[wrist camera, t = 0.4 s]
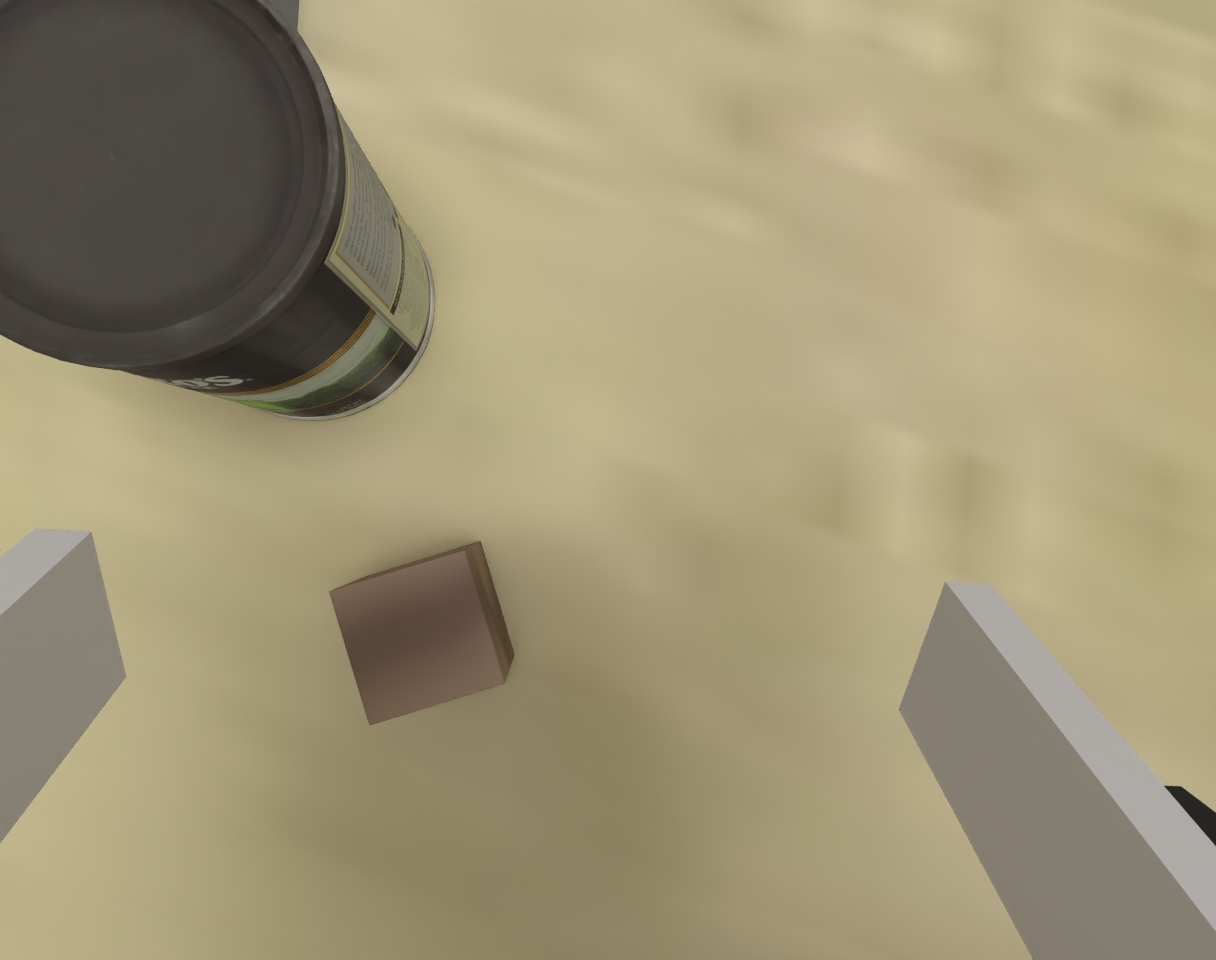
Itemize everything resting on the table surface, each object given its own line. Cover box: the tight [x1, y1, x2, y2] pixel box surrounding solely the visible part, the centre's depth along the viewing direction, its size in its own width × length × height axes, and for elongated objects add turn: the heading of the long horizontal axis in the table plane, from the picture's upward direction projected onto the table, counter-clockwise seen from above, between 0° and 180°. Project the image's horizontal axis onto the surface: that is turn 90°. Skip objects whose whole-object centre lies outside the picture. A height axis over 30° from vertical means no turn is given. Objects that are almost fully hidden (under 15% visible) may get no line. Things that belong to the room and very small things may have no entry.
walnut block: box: [329, 541, 514, 725], centre depth 30 cm, size 5×5×5 cm
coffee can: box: [0, 0, 435, 420], centre depth 25 cm, size 10×10×14 cm
